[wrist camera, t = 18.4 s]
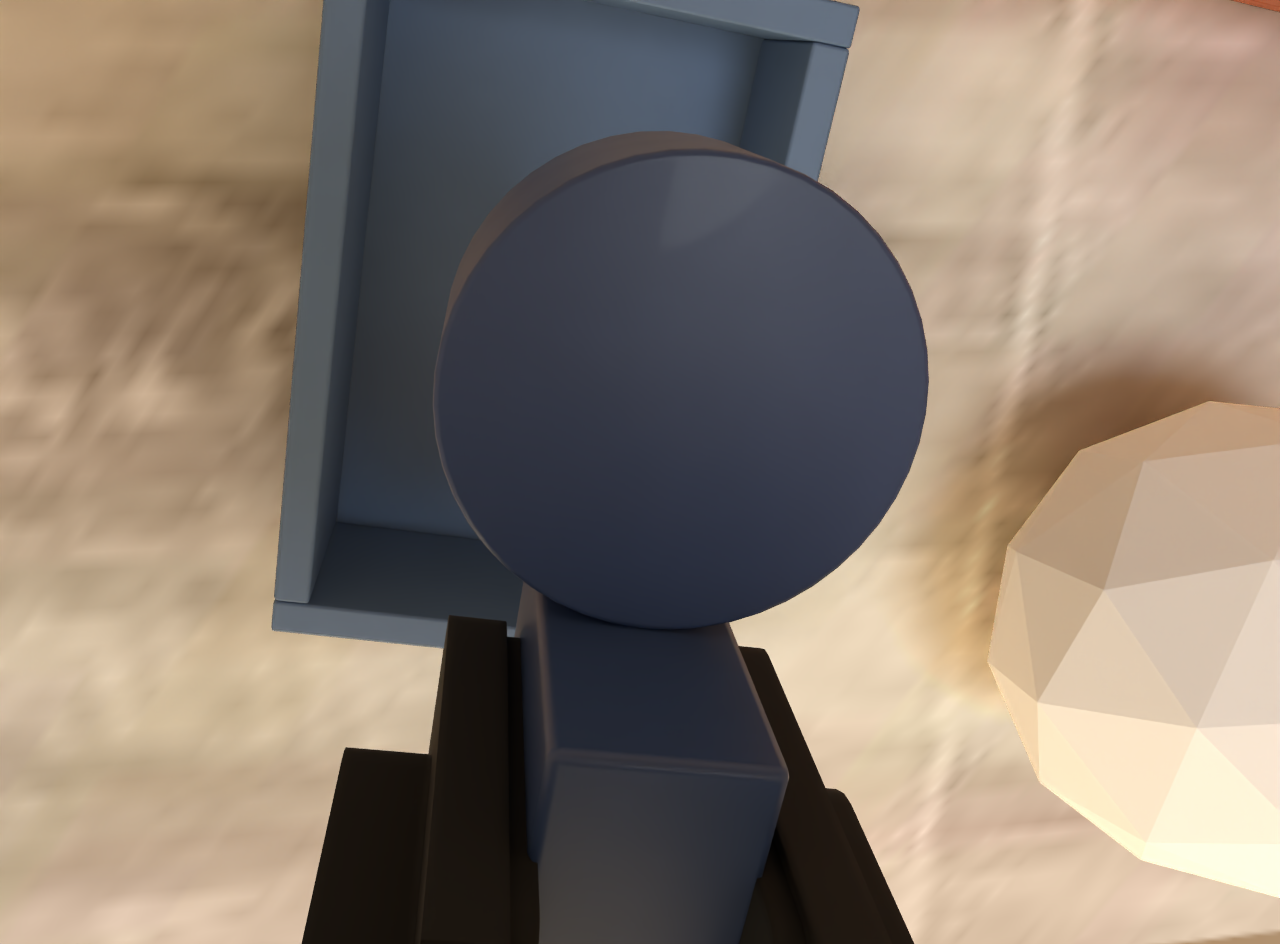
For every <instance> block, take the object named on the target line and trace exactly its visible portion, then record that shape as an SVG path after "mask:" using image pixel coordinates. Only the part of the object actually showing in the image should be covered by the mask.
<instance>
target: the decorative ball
mask: <svg viewBox="0 0 1280 944" xmlns="http://www.w3.org/2000/svg"><path fill="white" fill-rule="evenodd" d="M987 662H988V664H989V666H990V669H991V671H992V673H993V676H994V678H995V680H996V683H997V685H998V687H999V690H1000V692H1001V694H1002V696H1003V699H1004V701H1005V703H1006V706H1007V708H1008V710H1009V713H1010V715H1011V717H1012V720H1013V722H1014V724H1015V727H1016V729H1017V731H1018V733H1019V736H1020V738H1021V740H1022V743H1023V745H1024V747H1025V750H1026V752H1027V754H1028V757H1029V759H1030V761H1031V764H1032V766H1033V768H1034V770H1035V773H1036V775H1037V777H1038V780H1039V782H1040V783H1041V784H1043V785H1044V786H1045V787H1047V788H1048V789H1049V790H1050V791H1052V792H1053V793H1054V794H1056V795H1057V796H1058V797H1060V798H1061V799H1062V800H1063V801H1065V802H1066V803H1067V804H1069V805H1070V806H1071V807H1073V808H1074V809H1075V810H1076V811H1078V812H1079V813H1080V814H1082V815H1083V816H1084V817H1086V818H1087V819H1088V820H1089V821H1091V822H1092V823H1093V824H1095V825H1096V826H1097V827H1099V828H1100V829H1101V830H1102V831H1104V832H1105V833H1106V834H1108V835H1109V836H1110V837H1112V838H1113V839H1114V840H1115V841H1117V842H1118V843H1119V844H1121V845H1122V846H1123V847H1125V848H1126V849H1127V850H1128V851H1130V852H1131V853H1132V854H1134V855H1135V856H1136V857H1138V858H1139V859H1140V860H1143V861H1146V862H1150V863H1154V864H1157V865H1161V866H1165V867H1168V868H1172V869H1176V870H1179V871H1183V872H1187V873H1190V874H1194V875H1198V876H1201V877H1205V878H1209V879H1212V880H1216V881H1220V882H1223V883H1227V884H1231V885H1235V886H1238V887H1242V888H1246V889H1249V890H1253V891H1257V892H1260V893H1264V894H1268V895H1271V896H1275V897H1279V898H1280V408H1271V407H1262V406H1252V405H1243V404H1233V403H1224V402H1214V401H1208V402H1205V403H1202V404H1200V405H1197V406H1195V407H1192V408H1189V409H1187V410H1184V411H1181V412H1179V413H1176V414H1174V415H1171V416H1168V417H1166V418H1163V419H1160V420H1158V421H1155V422H1153V423H1150V424H1147V425H1145V426H1142V427H1139V428H1137V429H1134V430H1131V431H1129V432H1126V433H1124V434H1121V435H1118V436H1116V437H1113V438H1110V439H1108V440H1105V441H1103V442H1100V443H1097V444H1095V445H1092V446H1089V447H1087V448H1084V449H1082V450H1079V451H1078V453H1077V454H1076V455H1075V457H1074V458H1073V459H1072V461H1071V462H1070V463H1069V465H1068V466H1067V467H1066V469H1065V470H1064V471H1063V472H1062V474H1061V475H1060V476H1059V478H1058V479H1057V480H1056V482H1055V483H1054V484H1053V486H1052V487H1051V488H1050V490H1049V491H1048V492H1047V494H1046V495H1045V496H1044V498H1043V499H1042V500H1041V502H1040V503H1039V504H1038V506H1037V507H1036V508H1035V510H1034V511H1033V512H1032V514H1031V515H1030V516H1029V518H1028V519H1027V520H1026V522H1025V523H1024V524H1023V526H1022V527H1021V528H1020V530H1019V531H1018V532H1017V534H1016V535H1015V536H1014V538H1013V539H1012V540H1011V542H1010V543H1009V544H1008V546H1007V552H1006V557H1005V563H1004V569H1003V574H1002V580H1001V586H1000V591H999V597H998V603H997V608H996V614H995V620H994V625H993V631H992V637H991V642H990V648H989V654H988V659H987Z"/></svg>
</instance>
